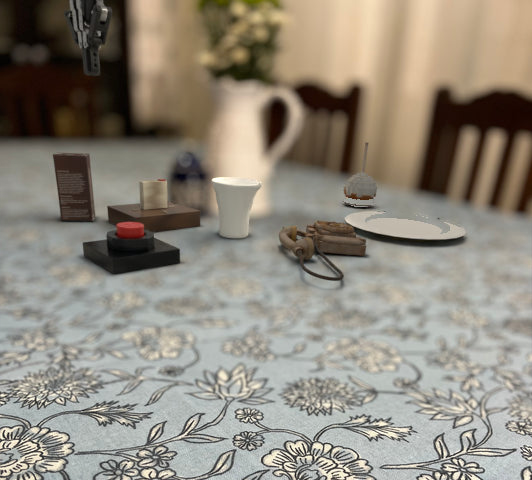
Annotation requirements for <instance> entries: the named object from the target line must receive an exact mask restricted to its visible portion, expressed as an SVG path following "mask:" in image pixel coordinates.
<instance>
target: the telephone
mask: <svg viewBox="0 0 532 480" xmlns="http://www.w3.org/2000/svg"><path fill="white" fill-rule="evenodd" d="M298 237H301V238H300V239H297V238H298ZM278 240H279V242H280V244H281V245H282V246H283V247H284V248H286V249H287V250H288V251H291V253H292V255H294V256H295V257H296V258H298V259H299V264H300V267H301V269H302V270H303V271H304V272H305V273H306V274H308V275H310V276H312V277H315V278H317V279H321V280H324V281H331V282H339V281H341V280H343V279H344V278H345V277H344V276H345V275H344V273H343V271H342V270H341V269H340V268H339V267H337V265H335V264H334V263H333V262H332V260H330V259H329V258H328V257H327V256H326V255H325V254H326V253H327V254H338V255H349V256H362V257H365V255H366V250H367V245H366V243H367V239H366V238H362V237H361V236H357V233H356V232H355V228H354V227H352V226H351V225H349V224H347V223H345V222H337V221H325V220H315V221H314V223H313V224H307V225H306V227H305V231H304V230H301V229H298V226H297V225H290V226H289V225H288V226H286V227H285V226H282V228H281V229H280V231H279V232H278ZM316 253H318V254H319V255H320V256H321V258H322V259H324V261H326V263H327V264H328V265H329V266H330V267H331V268H332V269H334V270H335V272H336V273H338V274H339V276H328V275H323V274H320V273H317V272H315V271H312V270H311V269H308V268H307V267H306V266H305V264H304V261H310V260H311V259H312V258H313V256H314V255H315V254H316ZM324 253H325V254H324Z"/></svg>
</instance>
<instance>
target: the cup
mask: <svg viewBox="0 0 532 480" xmlns="http://www.w3.org/2000/svg"><path fill="white" fill-rule="evenodd" d="M211 185H212V188H213V190H214V192H215V198H216V204H217V208H218V234H219V236H221V237H223V238H227V239H244V238H245V239H246V238H247V237H248V236H249V227H250V224H249V223H250V215H251V211H252V208H253V205H254V201H255V196H256V195H257V193H258V191H259V190H260V189H261V188H262V182H261V181H259V180H256V179H253V178H246V177H237V176H236V177H235V176H234V177H232V176H224V177H223V176H221V177H220V176H219V177H214V178H212V179H211Z"/></svg>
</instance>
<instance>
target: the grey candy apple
mask: <svg viewBox="0 0 532 480" xmlns="http://www.w3.org/2000/svg"><path fill="white" fill-rule="evenodd" d="M368 149H369V142H368V141H367V142H366V141H365V143H364V148H363V156H362V157H363V158H362V164H361V170H360V171H361V172H356V174H353V175H351V176H350V177H349V178H348V179H347V181H346V182H347V183H344V186H343V190H342V191H343V194H344V197H348V198H352V199H356V200H357V199H360V200H369V199H373V200H374V198H375V197H376V196H377V190H378V186H377V185H376V184H377V181H375V179H374V178H373V176H370V175H369V174H367V173H365V172H366V171H365V170H366V165H367V156H368ZM343 202H344V201H343V200H342V203H343ZM344 203H346V202H344ZM344 203H343V204H344ZM348 204H349V205H353V206H354V205H355V206H369V207H372V206H371V205H356V204H350V203H346V204H345V205H348ZM349 205H348V206H349Z"/></svg>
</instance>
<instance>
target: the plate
mask: <svg viewBox="0 0 532 480" xmlns="http://www.w3.org/2000/svg"><path fill="white" fill-rule="evenodd" d="M377 211H378V210H368V211H367V210H366V211H365V210H364V211H358V212H357V211H356V212H352V213H350V214H347V215H345V217H344V222H345V224H347V225H351V226H352V227H353V229H356V230H359V231H362V232H365V233H368V234H371V235H374V236H376V237H377V236H378V237H381V238H387V239H391V240H397V241H406V242H418V243H419V242H420V243H421V242H426V243H427V242H428V243H429V242H445V241H453V240H452V239H454V240H457V238H458V239H460V238H459V237H461V238H463V237H462V236H464V235H465V233H466V232H467V230H466V231H465V229H466V228H465V227H463V226H462V227H463V228H462V227H458V226H456V225H453V224H450V223H447V222H444V223H446V224H448V225H449V226H450V231H448V232H447V233H443V234H440V233H441V232H442V229H440V228H439V227H437V226H435V225H432V224H428V223H424V222H420V221H414V220H408V219H397V218H377V219H371V220H369V221H367V223H366V222H365V219H366V218H367V217H370V216H371V215H375V214H382V213H385V212H377ZM416 216H417V215H416ZM422 217H424V216H422ZM426 218H428V217H426ZM464 228H465V229H464ZM465 236H466V235H465ZM465 236H464V237H465ZM444 240H445V241H444Z"/></svg>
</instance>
